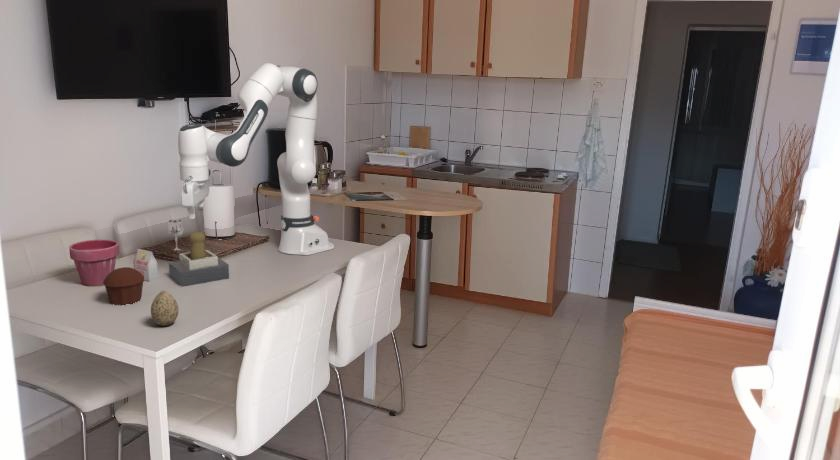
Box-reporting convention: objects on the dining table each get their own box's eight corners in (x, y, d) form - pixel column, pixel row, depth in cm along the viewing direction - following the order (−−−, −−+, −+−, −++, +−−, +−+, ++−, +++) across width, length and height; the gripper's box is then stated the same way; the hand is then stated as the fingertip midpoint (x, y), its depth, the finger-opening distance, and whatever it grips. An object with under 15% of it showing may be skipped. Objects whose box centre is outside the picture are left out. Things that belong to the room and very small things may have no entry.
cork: (210, 261, 213) (209, 230, 211) (203, 266, 207) (201, 235, 205) (193, 260, 214) (192, 229, 211) (185, 265, 208) (184, 234, 205)
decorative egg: (152, 331, 168) (149, 297, 166) (151, 321, 175) (148, 288, 172) (180, 327, 171) (178, 294, 169) (178, 318, 178) (176, 285, 175)
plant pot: (99, 272, 212) (96, 236, 209) (131, 278, 208) (128, 242, 205) (62, 284, 200) (58, 246, 196) (95, 291, 195) (91, 253, 192)
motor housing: (215, 268, 221) (214, 247, 219) (229, 278, 212) (228, 256, 210) (169, 276, 211) (168, 254, 209) (181, 286, 202) (180, 263, 200)
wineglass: (173, 248, 244) (172, 218, 241) (187, 249, 243) (186, 219, 240) (166, 252, 238) (164, 222, 235) (180, 253, 237) (178, 223, 234)
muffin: (117, 292, 195) (115, 262, 192) (152, 294, 195) (150, 264, 192) (97, 306, 183) (94, 274, 181) (134, 308, 183) (131, 276, 181)
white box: (143, 275, 212) (141, 247, 209) (158, 279, 209) (156, 250, 206) (134, 278, 208) (132, 250, 206) (149, 282, 206) (147, 253, 203)
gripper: (195, 180, 193) (197, 222, 197) (211, 169, 213) (213, 208, 216) (174, 179, 193) (177, 222, 196) (193, 169, 212) (195, 208, 216)
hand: (196, 215), depth 206 cm, fingers open, 8 cm apart
